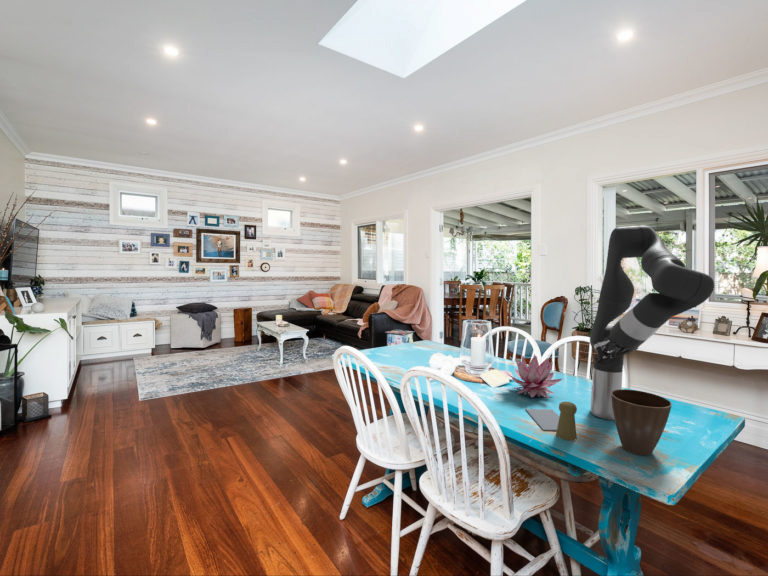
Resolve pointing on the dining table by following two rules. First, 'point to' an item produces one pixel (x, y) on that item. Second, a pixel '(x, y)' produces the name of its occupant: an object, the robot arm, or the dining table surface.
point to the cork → (567, 421)
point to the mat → (545, 418)
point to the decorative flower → (535, 377)
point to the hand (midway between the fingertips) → (597, 362)
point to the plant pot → (639, 419)
